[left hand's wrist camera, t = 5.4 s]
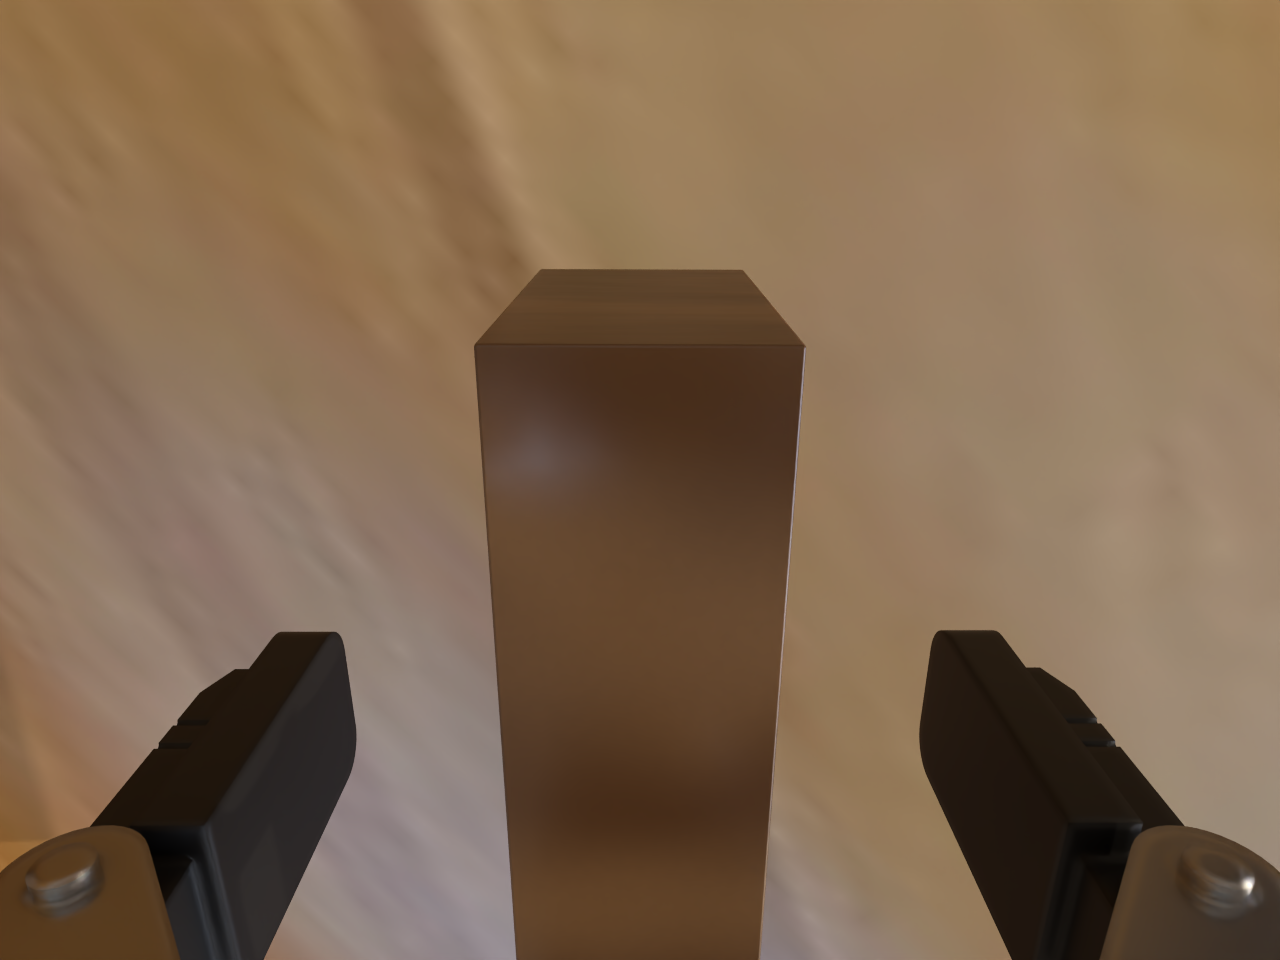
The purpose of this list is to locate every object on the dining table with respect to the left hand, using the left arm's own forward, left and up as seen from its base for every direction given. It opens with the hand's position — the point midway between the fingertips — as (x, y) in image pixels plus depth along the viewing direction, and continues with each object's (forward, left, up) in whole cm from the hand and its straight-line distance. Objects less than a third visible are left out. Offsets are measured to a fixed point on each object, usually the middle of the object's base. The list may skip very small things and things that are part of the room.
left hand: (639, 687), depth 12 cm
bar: (+8, +2, -12) cm, 15 cm away
